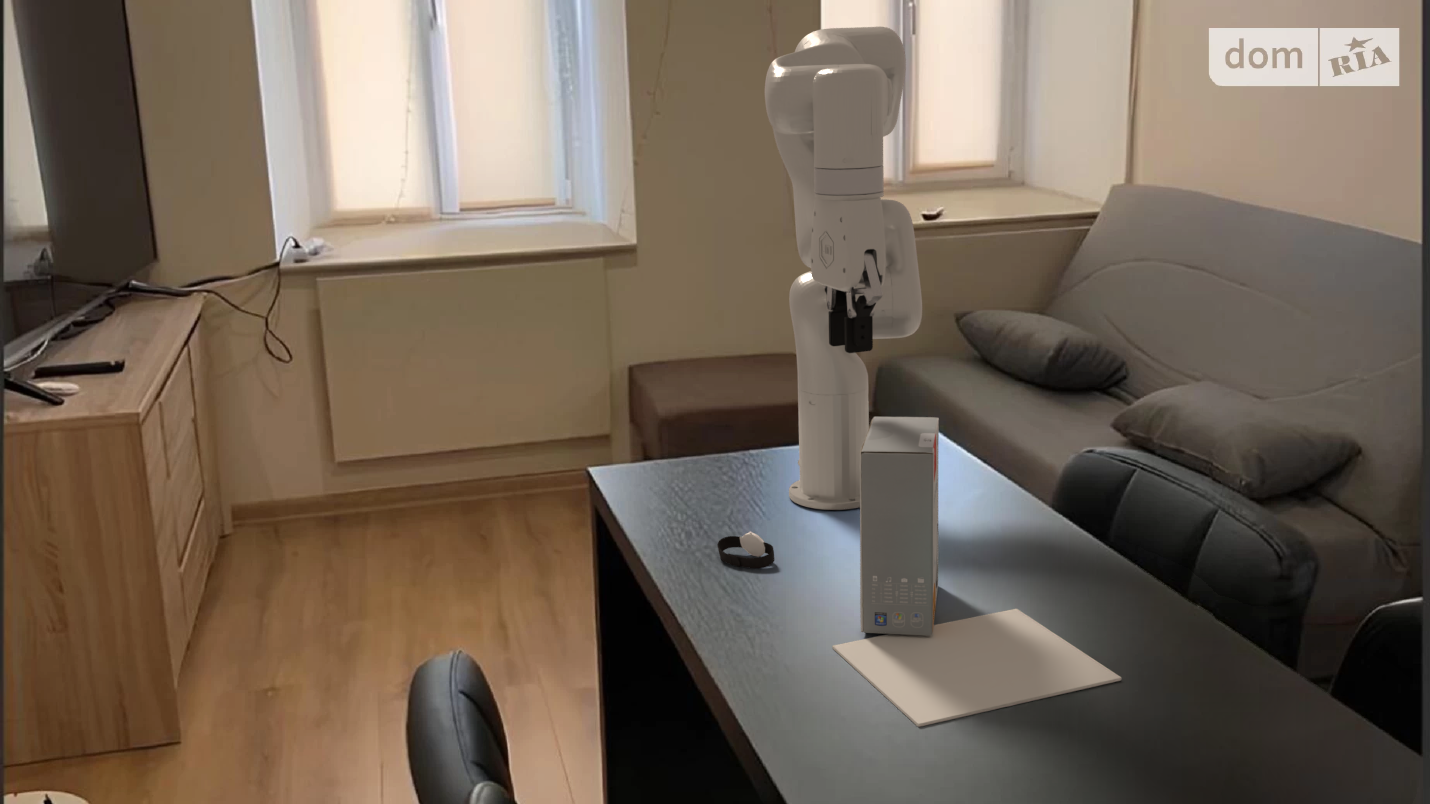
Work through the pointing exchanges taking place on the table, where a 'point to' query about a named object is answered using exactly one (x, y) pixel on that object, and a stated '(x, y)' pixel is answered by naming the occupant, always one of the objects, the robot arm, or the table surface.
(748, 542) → the watch
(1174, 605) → the table surface
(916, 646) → the mat
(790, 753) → the table surface
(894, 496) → the hard drive box
